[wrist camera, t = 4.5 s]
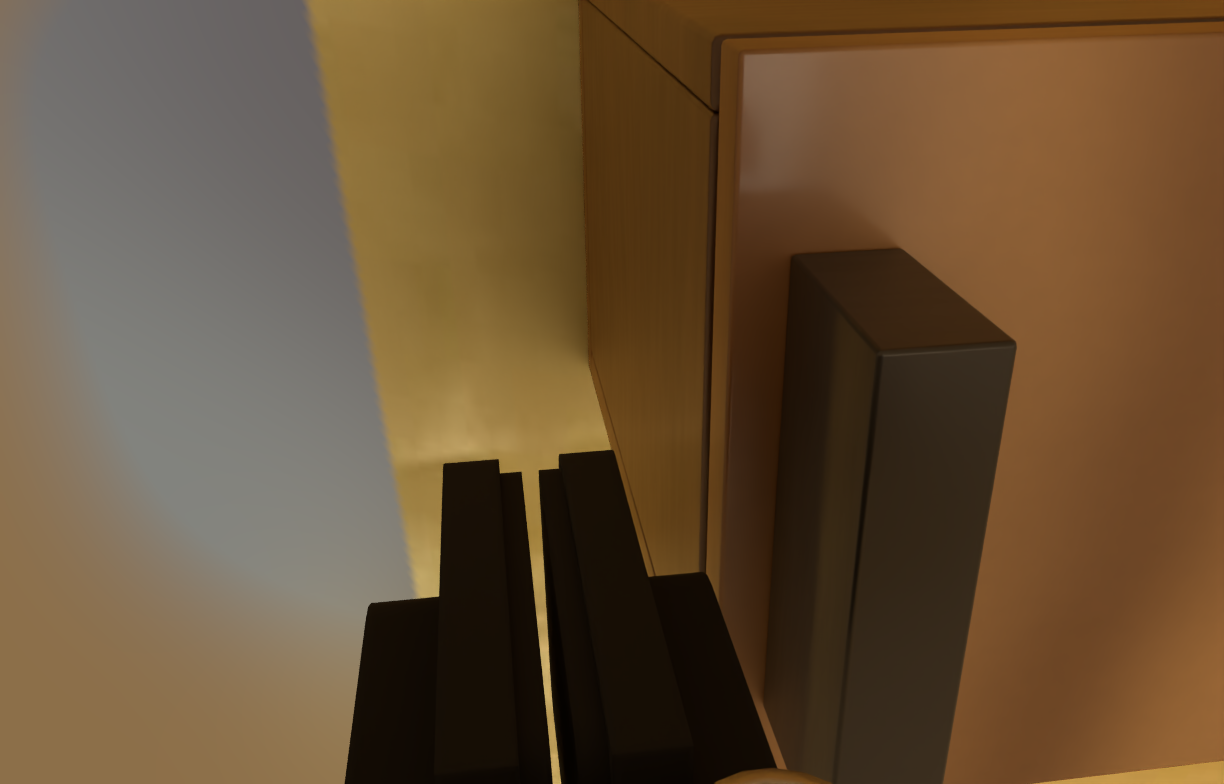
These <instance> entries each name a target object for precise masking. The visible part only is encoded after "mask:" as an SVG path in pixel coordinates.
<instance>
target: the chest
mask: <svg viewBox="0 0 1224 784" xmlns="http://www.w3.org/2000/svg"><path fill="white" fill-rule="evenodd" d="M578 6H579V41H580V76H581V111H582V146H583V181H584V216H585V251H586V285H587V320H588V355H589V368H590V372H591V376H592V379H593V383H594V387H595V390H596V394H597V398H598V401H599V405H600V409H601V413H602V416H603V420H604V424H605V427H606V431H607V435H608V438H609V442H610V446H611V449H612V450H614V453H615V456H616V459H617V463H618V467H619V470H620V474H621V478H622V481H623V485H624V489H625V493H626V496H627V500H628V504H629V507H630V511H631V515H632V519H633V522H634V526H635V530H636V533H637V537H638V541H639V544H640V548H641V552H642V556H643V559H644V563H645V567H646V570H647V574H648V577H652V576H662V575H673V574H683V573H694V572H704V573H706V560H707V526H708V491H709V456H710V421H711V386H712V351H713V316H714V281H715V247H716V212H717V177H718V142H719V107H720V72H721V45H722V42H723V41H724V40H726V39H741V38H770V37H798V36H826V35H855V34H883V33H911V32H940V31H968V30H996V29H1024V28H1053V27H1081V26H1109V25H1138V24H1166V23H1194V22H1223V21H1224V0H578Z"/></svg>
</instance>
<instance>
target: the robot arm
mask: <svg viewBox="0 0 1224 784" xmlns="http://www.w3.org/2000/svg"><path fill="white" fill-rule="evenodd" d="M539 488H540V505H541V522H542V539H543V556H544V573H545V590H546V607H547V624H548V641H549V658H550V675H551V690H552V702H553V713H554V722H555V731H556V740H557V749H558V758H559V767H560V776H561V784H833V783H831V782H828V781H826V780H823V779H820V778H818V777H815V776H812V775H810V774H807V773H805V772H800V771H792V770H785V769H778V768H777V766H776V763H775V760H774V757H773V754H772V752H771V749H770V746H769V743H768V740H767V738H766V735H765V732H764V729H763V726H762V724H761V721H760V718H759V715H758V712H757V710H756V707H755V704H754V701H753V698H752V696H751V693H750V690H749V687H748V684H747V682H746V679H745V676H744V673H743V670H742V668H741V665H740V662H739V659H738V656H737V654H736V651H735V648H734V645H733V642H732V640H731V637H730V634H729V631H728V628H727V626H726V623H725V620H724V617H723V615H722V612H721V609H720V606H719V603H718V601H717V598H716V595H715V592H714V589H713V587H712V584H711V582H710V580H709V577H708V575H707V574H706V573H704V572H694V573H683V574H673V575H662V576H652V577H648V574H647V570H646V567H645V563H644V559H643V556H642V552H641V548H640V544H639V541H638V537H637V533H636V530H635V526H634V522H633V519H632V515H631V511H630V507H629V504H628V500H627V496H626V493H625V489H624V485H623V481H622V478H621V474H620V470H619V467H618V463H617V459H616V456H615V453H614V450H605V451H593V452H580V453H568V454H559V469H549V470H539ZM345 784H553V783H552V769H551V757H550V746H549V735H548V725H547V715H546V705H545V695H544V686H543V676H542V666H541V657H540V647H539V637H538V627H537V618H536V608H535V598H534V589H533V579H532V569H531V560H530V550H529V540H528V530H527V521H526V511H525V501H524V492H523V482H522V473H521V472H513V473H501V474H500V470H499V459H495V460H482V461H470V462H458V463H445V464H443V489H442V522H441V555H440V589H439V597H431V598H420V599H410V600H400V601H389V602H378V603H371V604H370V605H369V607H368V611H367V616H366V622H365V630H364V638H363V645H362V653H361V661H360V669H359V677H358V684H357V692H356V700H355V707H354V715H353V723H352V731H351V738H350V747H349V754H348V762H347V770H346V777H345Z"/></svg>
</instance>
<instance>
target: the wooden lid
mask: <svg viewBox="0 0 1224 784" xmlns="http://www.w3.org/2000/svg"><path fill="white" fill-rule="evenodd" d="M706 574H707V575H708V577H709V580H710V582H711V584H712V587H713V589H714V592H715V595H716V598H717V601H718V603H719V606H720V609H721V612H722V615H723V617H724V620H725V623H726V626H727V628H728V631H729V634H730V637H731V640H732V642H733V645H734V648H735V651H736V654H737V656H738V659H739V662H740V665H741V668H742V670H743V673H744V676H745V679H746V682H747V684H748V687H749V690H750V693H751V696H752V698H753V701H754V704H755V707H756V710H757V712H758V715H759V718H760V721H761V724H762V726H763V729H764V732H765V735H766V738H767V740H768V743H769V746H770V749H771V752H772V754H773V757H774V760H775V763H776V766H777V768H778V769H785V770H792V771H800V772H805V773H807V774H810V775H812V776H815V777H818V778H820V779H823V780H826V781H828V782H831V783H833V784H1032V783H1041V782H1049V781H1057V780H1066V779H1074V778H1082V777H1091V776H1099V775H1107V774H1115V773H1124V772H1132V771H1140V770H1149V769H1157V768H1165V767H1174V766H1182V765H1190V764H1198V763H1207V762H1215V761H1223V760H1224V21H1223V22H1194V23H1166V24H1138V25H1109V26H1081V27H1053V28H1024V29H996V30H968V31H940V32H911V33H883V34H855V35H826V36H798V37H770V38H741V39H726V40H724V41H723V42H722V45H721V72H720V107H719V142H718V177H717V212H716V247H715V281H714V316H713V351H712V386H711V421H710V456H709V491H708V526H707V560H706Z"/></svg>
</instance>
